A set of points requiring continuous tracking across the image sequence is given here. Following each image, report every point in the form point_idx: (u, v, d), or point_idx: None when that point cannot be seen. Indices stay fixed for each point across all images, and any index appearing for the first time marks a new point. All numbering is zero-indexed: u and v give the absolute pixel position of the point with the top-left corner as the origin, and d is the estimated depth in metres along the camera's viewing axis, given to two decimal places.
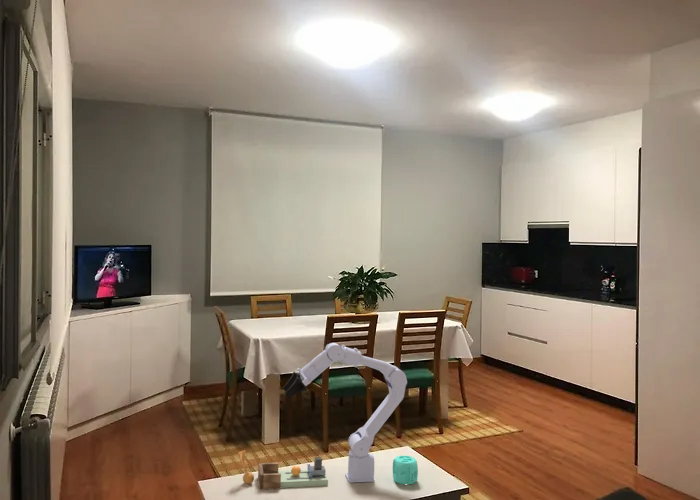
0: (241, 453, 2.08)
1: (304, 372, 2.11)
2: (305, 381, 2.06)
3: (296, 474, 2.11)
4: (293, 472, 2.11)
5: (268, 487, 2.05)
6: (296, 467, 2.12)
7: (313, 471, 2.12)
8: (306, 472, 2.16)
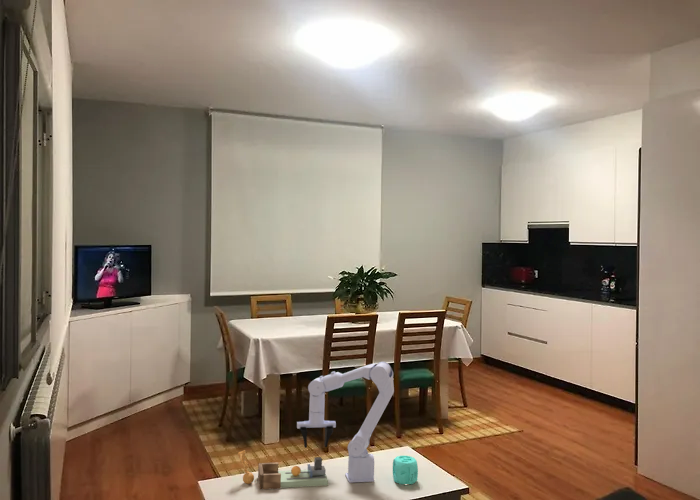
0: (241, 453, 2.08)
1: None
2: (297, 424, 2.20)
3: (296, 474, 2.11)
4: (293, 472, 2.11)
5: (268, 487, 2.05)
6: (296, 467, 2.12)
7: (313, 471, 2.12)
8: (306, 472, 2.16)
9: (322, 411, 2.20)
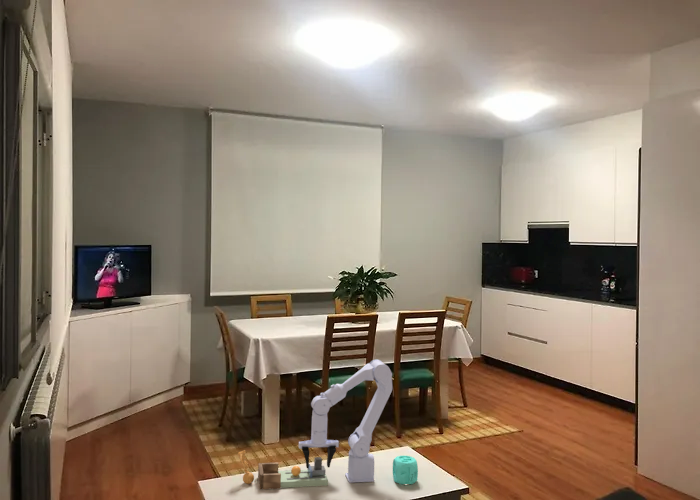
0: (241, 453, 2.08)
1: None
2: None
3: (296, 474, 2.11)
4: (293, 472, 2.11)
5: (268, 487, 2.05)
6: (296, 467, 2.12)
7: (313, 471, 2.12)
8: (306, 472, 2.16)
9: (326, 429, 2.14)
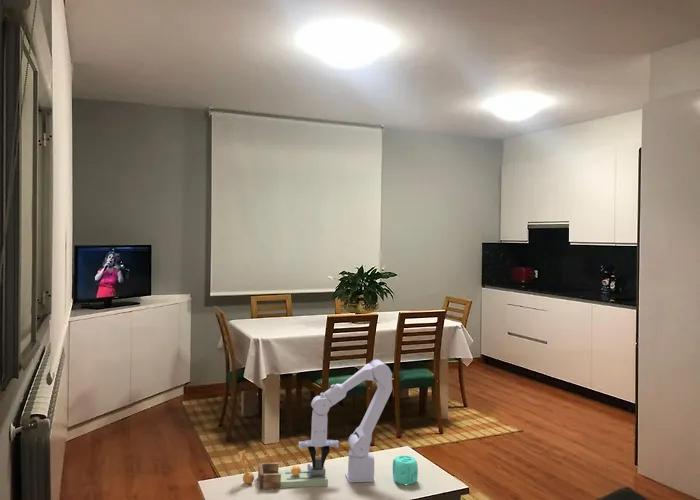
0: (241, 453, 2.08)
1: None
2: None
3: (296, 474, 2.11)
4: (293, 472, 2.11)
5: (268, 487, 2.05)
6: (296, 467, 2.12)
7: (313, 471, 2.12)
8: (306, 472, 2.16)
9: (326, 429, 2.14)
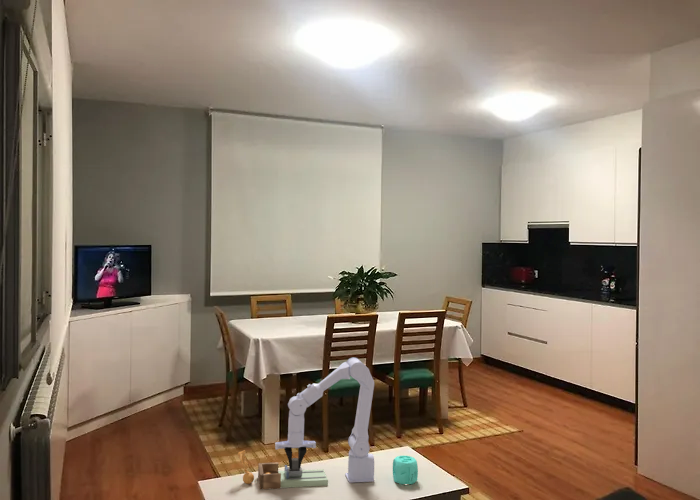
0: (241, 453, 2.08)
1: None
2: (275, 445, 2.12)
3: None
4: None
5: (268, 487, 2.05)
6: None
7: (289, 472, 2.10)
8: (306, 472, 2.16)
9: (303, 430, 2.12)
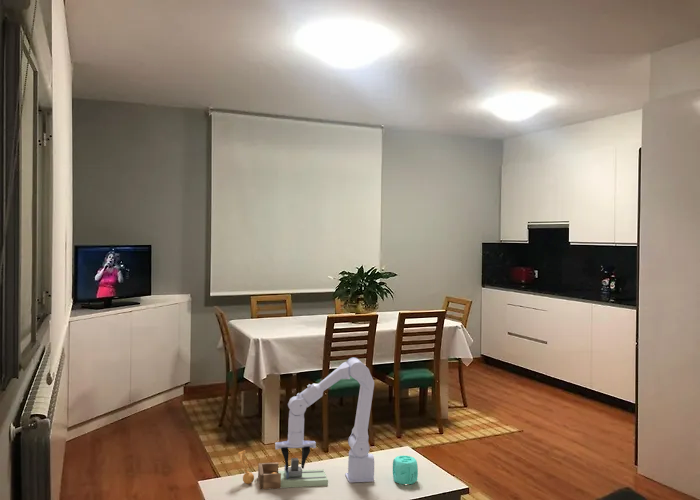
0: (241, 453, 2.08)
1: None
2: (275, 445, 2.12)
3: None
4: None
5: (268, 487, 2.05)
6: None
7: (289, 472, 2.10)
8: (306, 472, 2.16)
9: (303, 430, 2.12)
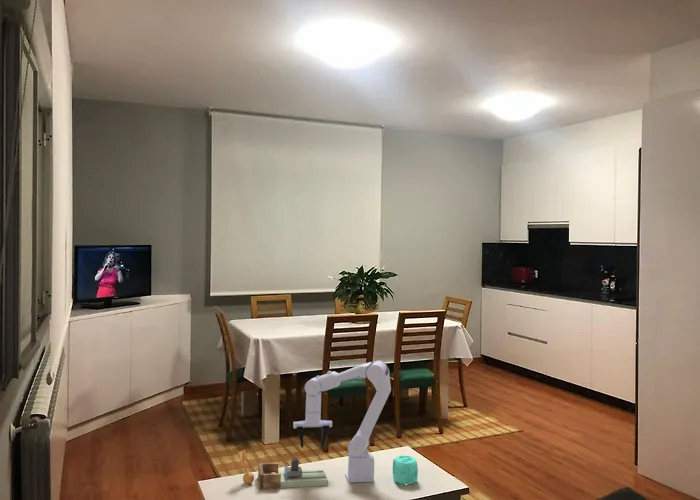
0: (241, 453, 2.08)
1: None
2: (293, 424, 2.20)
3: None
4: None
5: (268, 487, 2.05)
6: None
7: (289, 472, 2.10)
8: (306, 472, 2.16)
9: (318, 411, 2.20)
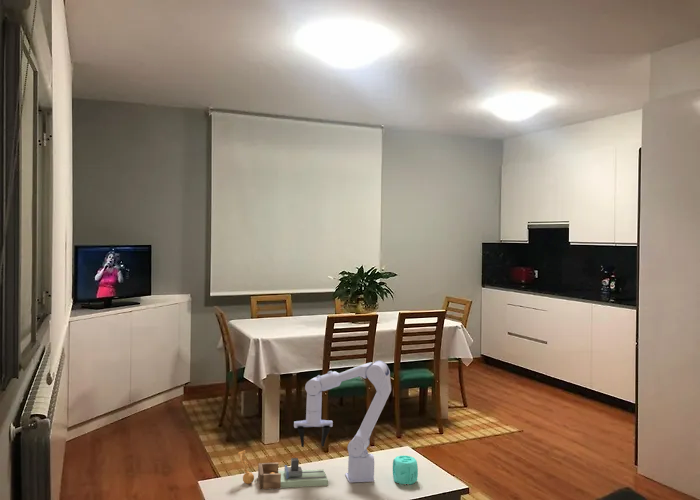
0: (241, 453, 2.08)
1: None
2: (294, 424, 2.21)
3: None
4: None
5: (268, 487, 2.05)
6: None
7: (289, 472, 2.10)
8: (306, 472, 2.16)
9: (319, 410, 2.20)
